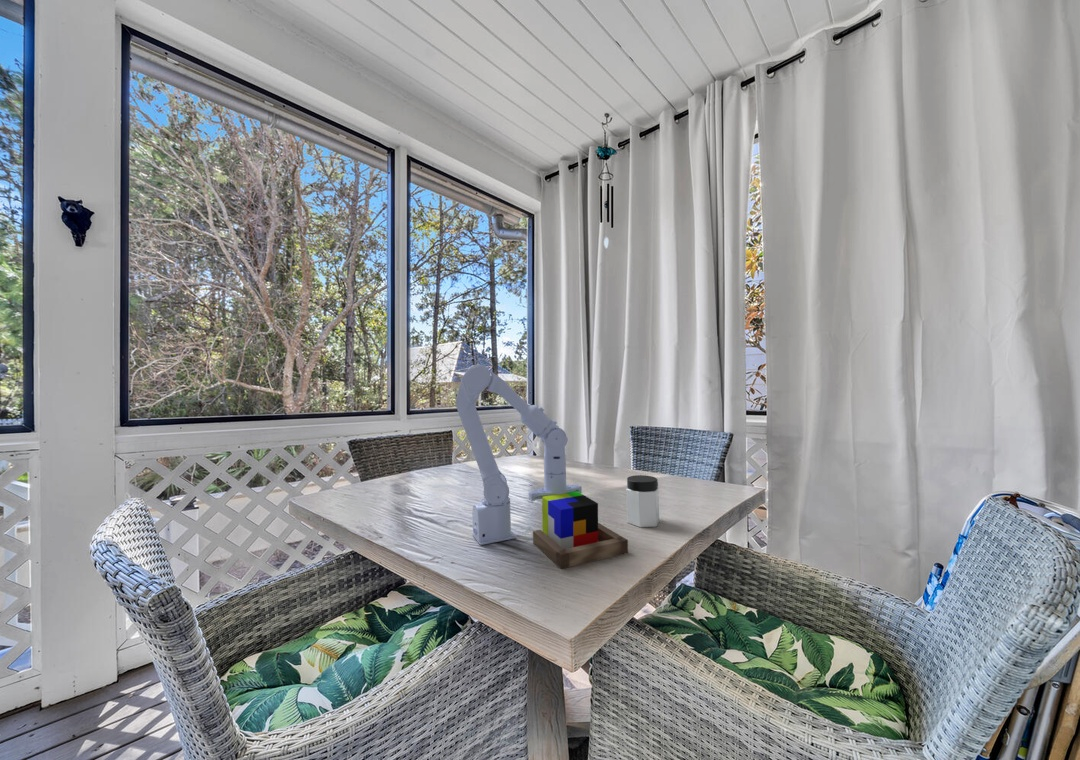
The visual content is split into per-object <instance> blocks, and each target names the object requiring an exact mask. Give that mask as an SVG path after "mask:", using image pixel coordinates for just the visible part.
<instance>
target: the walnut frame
mask: <svg viewBox="0 0 1080 760" xmlns="http://www.w3.org/2000/svg"><path fill="white" fill-rule="evenodd" d="M532 543H533V545H534V546H535V547H537V549H539V550H540V551H541V552H542V553H543V554H544V555H545V556H546V557H547V558H548V559H549V560H551V561H552V563H554V564H555V565H556V566H557V567H558V568H559V569H560V570H562V569H566V568H570V567H575V566H579V565H583V564H587V563H591V562H596V561H601V560H604V559H608V558H613V557H618V556H621V554H622V555H626V554H629V541H628V539H627V538H625V537H624V536H622V535H621V534H618V533H617V532H615V531H613V530H611V529H610V528H608V527H606V526H605V525H604V524H602V523H600V522H598V542H596V543H591V544H587V545H582V546H577V547H573V548H568V549H564V548H563V547H561V546H560V545H559V544H558V543H556V542H555V541H554V540H553V539H551V538H550V537H549V536H548V535H546V534H545V533H544V532H543V530H541V529H537V530H536V529H535V530H533V531H532ZM625 553H626V554H625ZM617 555H618V556H617Z"/></svg>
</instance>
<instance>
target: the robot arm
mask: <svg viewBox="0 0 1080 760" xmlns="http://www.w3.org/2000/svg"><path fill="white" fill-rule="evenodd" d="M486 388H487V392H491V393H494V394H498V395H499V396H500V397H501V398H502V399H503V400H504V401H506V402H507V403H508V404H509V405H510V406H512V407H513V408H514V410H516V411H517V412H518V413H519V414H520V422H521V423H522V424H523V425H524V426H525V427H526V428H528V429H529V430H530V432H532V433H533V434H534V435H535V436H536V437H537V438H540V439H541V442H542V443H543V444H544V445H543V475H544V476H543V478H544V480H543V481H544V483H543V484H544V487H543V488H537V489H536V490H535V489H534V490H531V491H528V500H530V501H531V502H534V501H536V500H542V497H544V496H550V495H557V494H564V493H570V492H576V491H578V492H579V493H581V494H583V493H582V492H583V491H582V490H583V489H582V485H579V484H570V485H567V464H566V463H567V462H566V461H567V459H566V457H567V455H566V445H567V444H568V441H569V438H568V436H567V434H566V431H565V430H563V429H562V428H560V427H559V425H557V424H558V422H557V420H555V419H553V420H552V419H551V418H550V417H549V416H548V415H547V414H546V413H545V412H544V411H545V409H544V408H543V407H542V406H538V405H536V404H532V405H531V404H530V405H529V404H528V403H527V402H526V401H525V400H524V399H523V398H522V397H521V396H520V395H519V394H518V393H517V392H516V391H515V390H514V389H513V388H512V387H511V386H510V385H509V384H508V383H507V382H506V381H505V380H504V379H503V378H501V376H499V375H497V374H496V373H494V372H493V371H490V370H489V368H488V367H486V366H485V365H483V364H473V365H471V366H469V367H468V368H467V369H466V371H465V373H464V374H463V375H462V377H461V379H460V384H459V387H458V391H457V394H456V395H457V396H456V397H455V398H456V399H455V407H456V410H457V413H458V415H459V418H460V421H461V424H462V426H463V428H464V429H463V430H464V431H465V434H466V437H467V439H468V443H469V445H470V447H471V448H470V449H471V450H472V453H473V457H474V459H475V460H476V461H475V462H476V463H477V466H478V469H479V472H480V477H481V481H482V487H483V497H482V499H481V502H479V503H476V504H474V505H473V506H472V511H471V512H472V533H471V534H472V536H473V538H475V540H476V541H477V543H478V544H479V545H480V546H481V545H482V546H484V545H488V544H492V543H498V542H504V541H507V540H508V541H509V540H514V539H517V537H518V536H517V535H516V534H515V533H514V532H513V531H512V525H511V524H512V523H511V521H512V520H511V518H512V517H511V515H512V514H511V497H509V495H510V487H509V485H508V481H507V480H508V479H507V477H506V476H505V474H504V473H502V472H501V471H500V469H499V466H498V464H497V462H496V459H495V457H494V454H493V451H492V449H491V446H490V443H489V439H488V438H487V434H486V431H485V428H484V427H483V426H484V425H483V424H482V421H481V418H480V416H479V412H478V410H477V408H476V403H477V401H478V400H479V397H480V396H481V395H480V394H481V393H482V392H483V391H485V389H486Z"/></svg>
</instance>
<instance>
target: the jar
mask: <svg viewBox="0 0 1080 760" xmlns="http://www.w3.org/2000/svg"><path fill="white" fill-rule="evenodd" d="M626 479H627V480H626V483H627V485H626V487H627V488H626V489H625V491H626V519H627V520H626V521H627V524H629V525H632V526H635V527H637V528H652V527H657V526H658V525H659V522H660V501H659V500H660V498H659V497H660V496H659V493H660V492H659V481H658V478H657V477H655V476H653V475H646V474H642V475H641V474H640V475H639V474H638V475H637V474H636V475H630V476H628V477H627V478H626Z"/></svg>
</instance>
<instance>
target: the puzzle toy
mask: <svg viewBox="0 0 1080 760" xmlns="http://www.w3.org/2000/svg"><path fill="white" fill-rule="evenodd" d="M541 501H542V502H541V503H542V505H541V506H542V515H541V516H542V519H541V520H542V531H543V532H544V533H545V534H546V535H548V536H549V537H550V538H551V539H553V540H554V541H555V542H556V543H558V544H559V545H560V546H561V547H563V548H564V549H568V548H573V547H577V546H582V545H587V544H591V543H596V542H599V540H598V523H599V503H598V502H597V501H594V500H593V499H591V498H589V497H588V496H586V495H584V494H583V493H579V492H578V491H576V492H570V493H564V494H557V495H550V496H544V497H542V499H541Z"/></svg>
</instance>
